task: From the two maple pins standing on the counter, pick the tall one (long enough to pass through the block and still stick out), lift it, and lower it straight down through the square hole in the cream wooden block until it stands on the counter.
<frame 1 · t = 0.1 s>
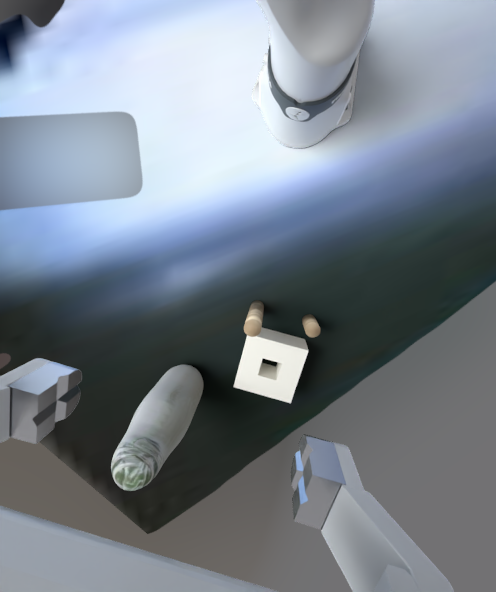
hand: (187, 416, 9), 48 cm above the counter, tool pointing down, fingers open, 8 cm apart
short pin: (308, 320, 57), on the counter
long pin: (257, 306, 58), on the counter
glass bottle: (188, 375, 64), on the counter
hole block: (270, 356, 60), on the counter
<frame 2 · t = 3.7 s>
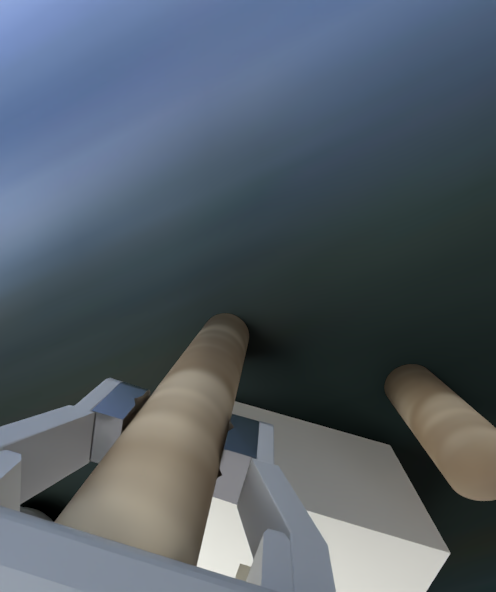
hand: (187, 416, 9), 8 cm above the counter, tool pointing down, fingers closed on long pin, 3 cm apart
short pin: (409, 385, 16), on the counter
long pin: (226, 335, 16), on the counter, touching gripper
hole block: (270, 490, 19), on the counter
when the fingers open (9 cm above the counter, at t = 9.4 s): long pin stays where it is, resting in hole block.
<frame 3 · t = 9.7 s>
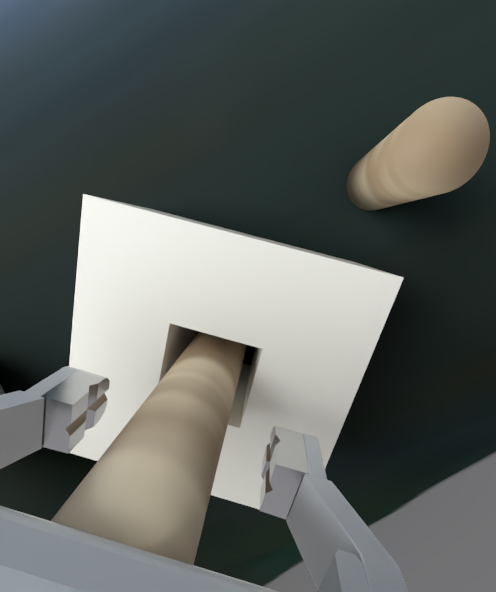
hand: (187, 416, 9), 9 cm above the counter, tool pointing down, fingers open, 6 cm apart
short pin: (373, 183, 14), on the counter
long pin: (228, 330, 17), resting in hole block
hole block: (228, 330, 17), on the counter
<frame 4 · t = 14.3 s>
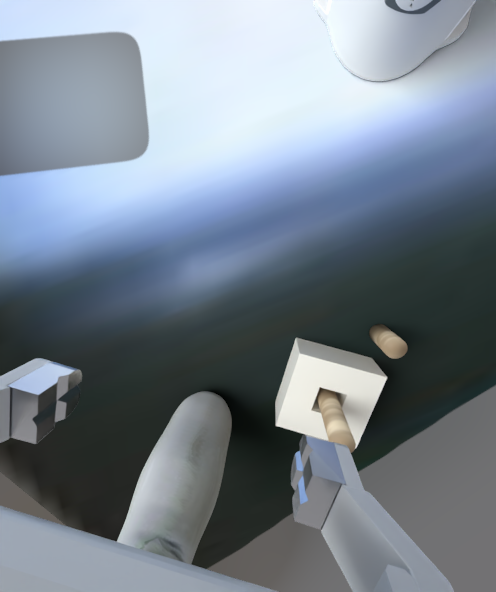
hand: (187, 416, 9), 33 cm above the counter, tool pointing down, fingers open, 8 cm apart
short pin: (378, 332, 41), on the counter
long pin: (321, 380, 44), resting in hole block
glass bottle: (209, 404, 48), on the counter
hole block: (321, 380, 44), on the counter
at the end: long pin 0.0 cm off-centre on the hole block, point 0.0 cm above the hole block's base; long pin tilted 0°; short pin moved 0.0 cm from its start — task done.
